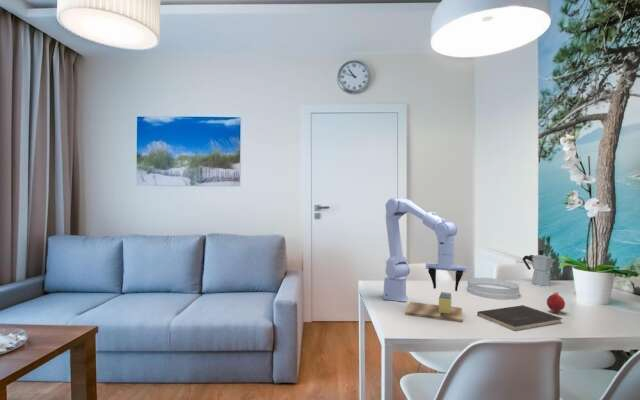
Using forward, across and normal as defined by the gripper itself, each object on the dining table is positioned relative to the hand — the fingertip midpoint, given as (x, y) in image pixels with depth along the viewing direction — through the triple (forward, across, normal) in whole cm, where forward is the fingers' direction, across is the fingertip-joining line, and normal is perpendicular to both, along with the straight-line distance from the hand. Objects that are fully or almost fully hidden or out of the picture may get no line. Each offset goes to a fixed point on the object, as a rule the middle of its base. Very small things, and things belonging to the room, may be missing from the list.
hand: (445, 289), depth 130 cm
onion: (+10, -39, -21) cm, 45 cm away
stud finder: (+8, 0, 0) cm, 8 cm away
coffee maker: (+10, -40, -71) cm, 82 cm away
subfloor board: (+9, +4, 0) cm, 10 cm away
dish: (+10, -18, -42) cm, 47 cm away
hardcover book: (+10, -25, -6) cm, 28 cm away
